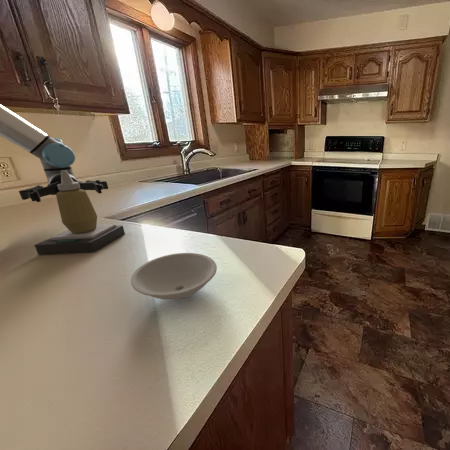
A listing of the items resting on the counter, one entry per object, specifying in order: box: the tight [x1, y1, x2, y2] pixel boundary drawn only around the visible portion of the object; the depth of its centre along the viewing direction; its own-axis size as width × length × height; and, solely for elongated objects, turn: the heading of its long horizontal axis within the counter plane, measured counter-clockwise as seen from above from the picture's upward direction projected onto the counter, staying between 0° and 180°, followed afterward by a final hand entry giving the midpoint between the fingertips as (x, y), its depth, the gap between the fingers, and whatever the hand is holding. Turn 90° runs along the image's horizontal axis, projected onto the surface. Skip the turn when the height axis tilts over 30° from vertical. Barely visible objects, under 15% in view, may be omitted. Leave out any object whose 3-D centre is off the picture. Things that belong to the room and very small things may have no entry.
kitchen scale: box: [33, 223, 126, 256], centre depth 74 cm, size 15×14×4 cm
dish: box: [130, 252, 218, 301], centre depth 48 cm, size 18×14×5 cm
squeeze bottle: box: [55, 170, 98, 233], centre depth 71 cm, size 8×8×18 cm
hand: (70, 192), depth 71 cm, fingers open, 13 cm apart
